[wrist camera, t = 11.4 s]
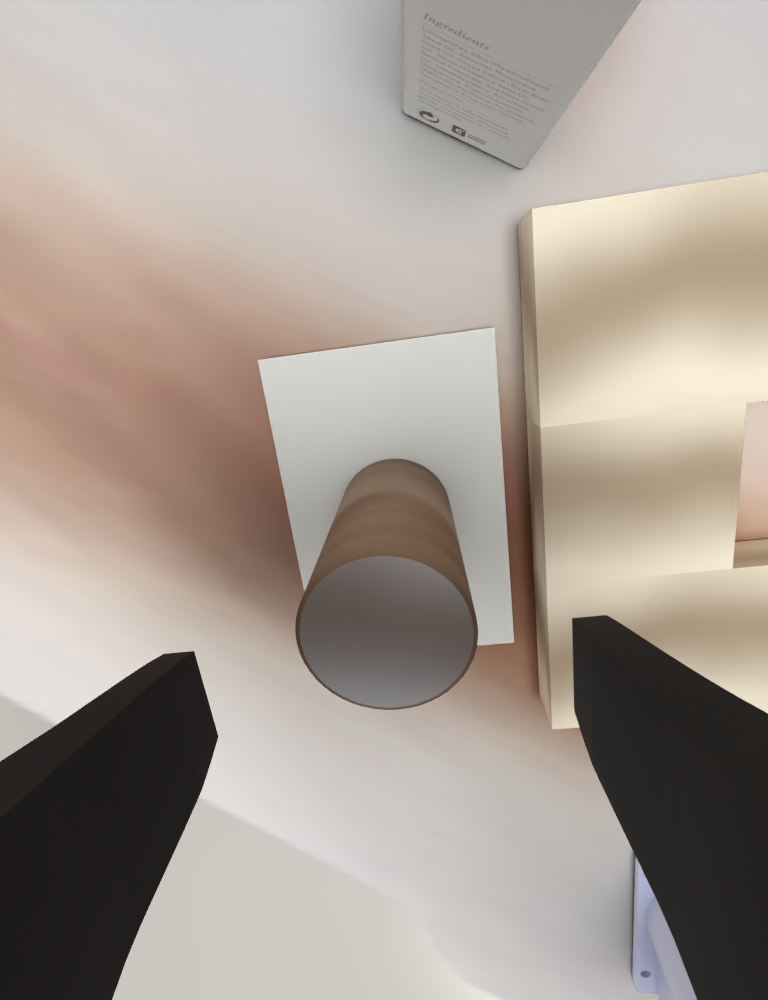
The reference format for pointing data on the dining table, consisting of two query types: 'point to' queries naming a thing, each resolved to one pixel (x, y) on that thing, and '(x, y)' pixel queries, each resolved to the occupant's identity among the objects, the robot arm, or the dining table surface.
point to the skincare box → (501, 65)
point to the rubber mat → (398, 444)
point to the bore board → (646, 425)
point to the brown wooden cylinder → (389, 593)
